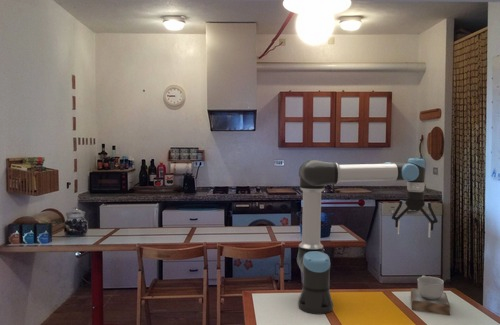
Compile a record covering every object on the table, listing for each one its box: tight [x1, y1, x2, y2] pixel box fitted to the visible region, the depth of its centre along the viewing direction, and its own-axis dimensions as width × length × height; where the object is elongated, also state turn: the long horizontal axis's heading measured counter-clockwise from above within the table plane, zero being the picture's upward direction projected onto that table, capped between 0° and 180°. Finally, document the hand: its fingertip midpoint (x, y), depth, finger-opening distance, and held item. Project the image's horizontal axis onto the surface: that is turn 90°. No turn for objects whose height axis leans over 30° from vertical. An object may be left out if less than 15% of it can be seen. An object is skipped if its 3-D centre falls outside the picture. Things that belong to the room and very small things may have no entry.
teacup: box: [417, 275, 445, 300], centre depth 185 cm, size 14×11×8 cm
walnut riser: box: [410, 288, 451, 316], centre depth 185 cm, size 15×17×4 cm
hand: (413, 235), depth 195 cm, fingers open, 13 cm apart
